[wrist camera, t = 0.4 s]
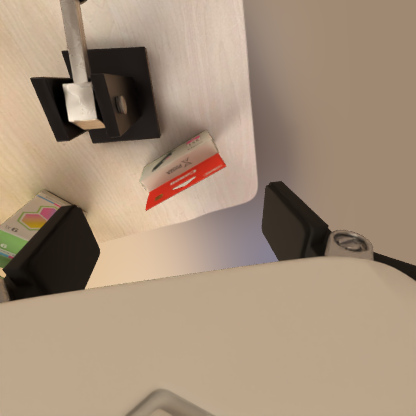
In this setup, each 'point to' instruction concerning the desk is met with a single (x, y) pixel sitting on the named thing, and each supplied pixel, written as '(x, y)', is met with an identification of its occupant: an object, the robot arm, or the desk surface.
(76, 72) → the lever
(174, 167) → the ink box
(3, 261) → the ink box
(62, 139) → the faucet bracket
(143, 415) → the robot arm
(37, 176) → the desk surface
